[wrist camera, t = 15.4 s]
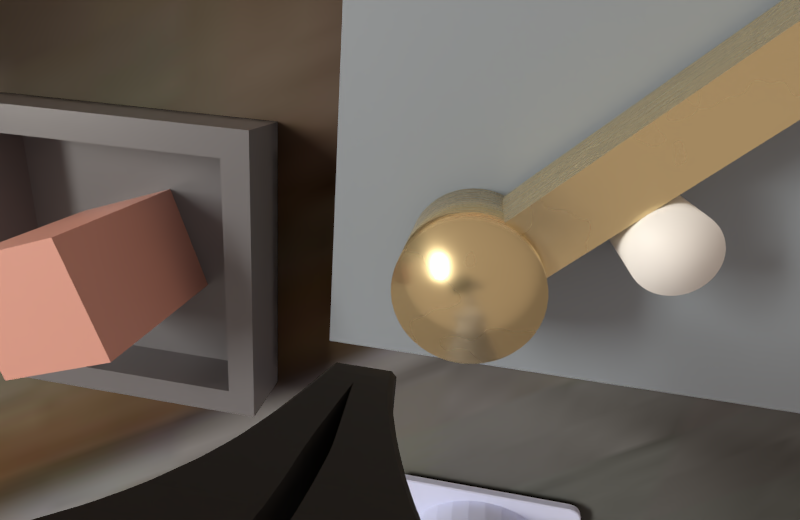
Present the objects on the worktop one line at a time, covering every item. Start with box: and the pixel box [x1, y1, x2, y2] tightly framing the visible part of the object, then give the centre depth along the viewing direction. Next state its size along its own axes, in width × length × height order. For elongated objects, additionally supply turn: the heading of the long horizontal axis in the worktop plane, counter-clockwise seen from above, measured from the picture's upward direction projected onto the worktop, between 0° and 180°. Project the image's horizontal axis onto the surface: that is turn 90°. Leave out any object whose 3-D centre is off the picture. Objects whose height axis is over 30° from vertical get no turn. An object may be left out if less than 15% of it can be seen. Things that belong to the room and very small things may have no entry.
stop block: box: [0, 189, 208, 381], centre depth 19 cm, size 4×4×6 cm
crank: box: [391, 0, 800, 364], centre depth 15 cm, size 15×4×4 cm, turn 129°
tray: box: [0, 93, 278, 417], centre depth 21 cm, size 11×11×2 cm
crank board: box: [330, 0, 800, 413], centre depth 15 cm, size 20×18×5 cm
